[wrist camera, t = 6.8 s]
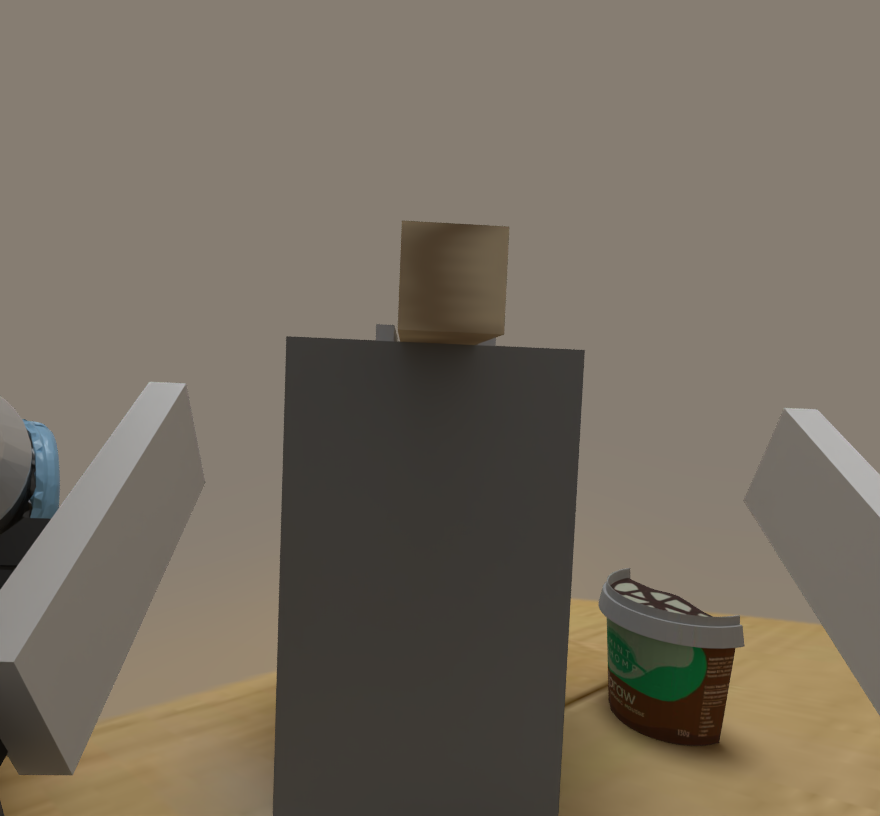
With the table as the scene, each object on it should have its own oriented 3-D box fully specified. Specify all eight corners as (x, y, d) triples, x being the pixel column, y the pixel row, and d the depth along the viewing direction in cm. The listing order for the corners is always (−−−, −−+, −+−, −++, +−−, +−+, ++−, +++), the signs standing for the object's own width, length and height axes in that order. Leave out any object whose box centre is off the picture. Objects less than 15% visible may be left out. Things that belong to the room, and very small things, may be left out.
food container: (562, 687, 53) (568, 572, 52) (618, 675, 56) (625, 565, 55) (673, 774, 42) (682, 630, 41) (736, 754, 45) (746, 618, 44)
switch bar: (397, 329, 23) (401, 220, 23) (402, 350, 49) (404, 300, 49) (503, 334, 23) (509, 226, 23) (452, 353, 49) (454, 302, 49)
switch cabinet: (271, 843, 34) (286, 317, 33) (320, 672, 54) (331, 336, 52) (556, 843, 35) (585, 331, 34) (503, 675, 55) (520, 345, 53)
